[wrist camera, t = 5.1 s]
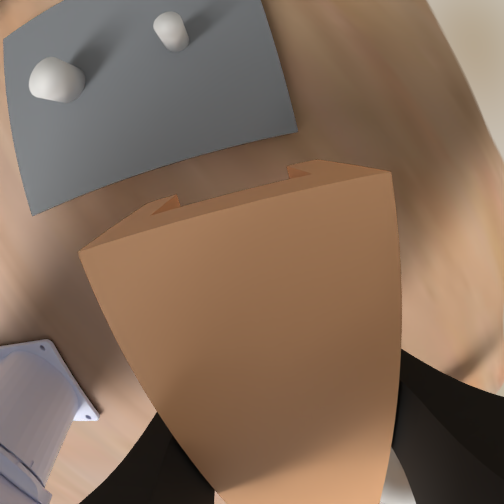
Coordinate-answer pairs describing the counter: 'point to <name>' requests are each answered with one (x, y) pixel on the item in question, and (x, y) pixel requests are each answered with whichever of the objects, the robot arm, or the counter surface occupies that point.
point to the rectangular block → (266, 330)
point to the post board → (137, 89)
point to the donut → (396, 484)
